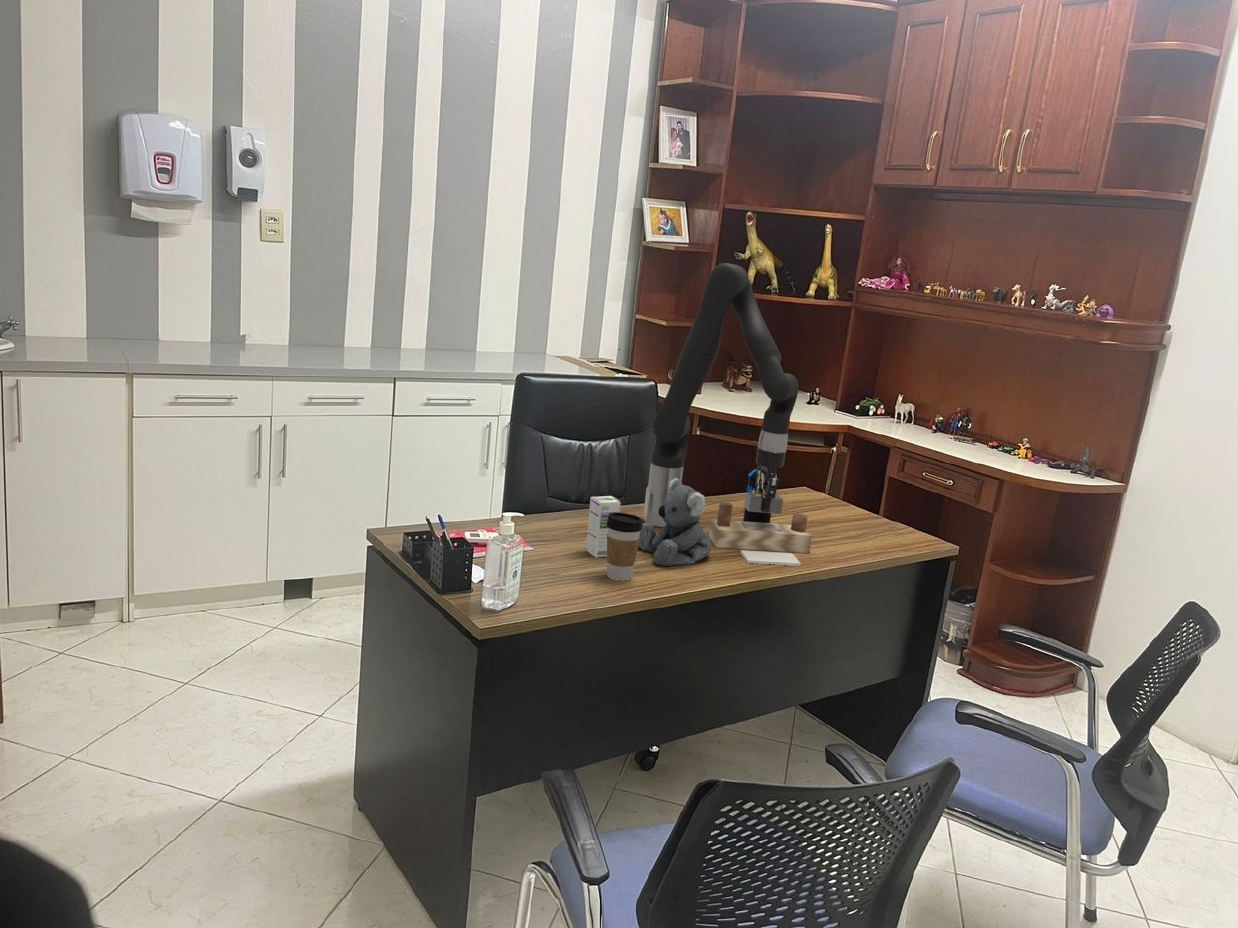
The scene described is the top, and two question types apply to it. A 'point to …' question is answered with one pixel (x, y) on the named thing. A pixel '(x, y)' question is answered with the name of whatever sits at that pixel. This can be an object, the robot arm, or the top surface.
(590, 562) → the top surface
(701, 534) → the koala plush
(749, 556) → the rubber mat
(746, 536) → the hand plane
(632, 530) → the coffee cup
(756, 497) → the lever cap
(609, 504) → the syrup box
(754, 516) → the aerosol can
